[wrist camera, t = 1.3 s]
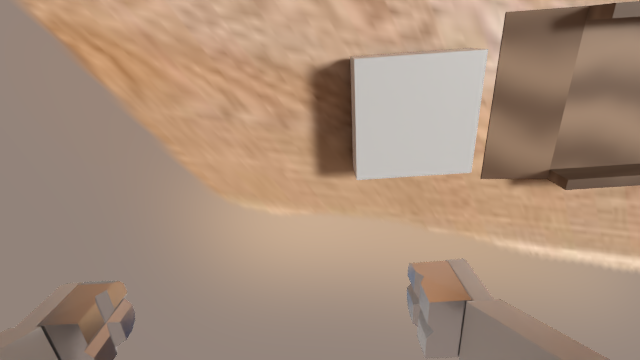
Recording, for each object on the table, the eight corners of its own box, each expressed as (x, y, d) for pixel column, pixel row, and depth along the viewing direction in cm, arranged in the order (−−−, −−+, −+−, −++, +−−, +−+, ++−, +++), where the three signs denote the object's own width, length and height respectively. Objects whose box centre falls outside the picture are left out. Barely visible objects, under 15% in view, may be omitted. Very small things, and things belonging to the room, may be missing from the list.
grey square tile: (349, 55, 28) (354, 58, 24) (465, 47, 28) (488, 49, 24) (352, 163, 32) (356, 180, 28) (453, 156, 32) (471, 172, 28)
